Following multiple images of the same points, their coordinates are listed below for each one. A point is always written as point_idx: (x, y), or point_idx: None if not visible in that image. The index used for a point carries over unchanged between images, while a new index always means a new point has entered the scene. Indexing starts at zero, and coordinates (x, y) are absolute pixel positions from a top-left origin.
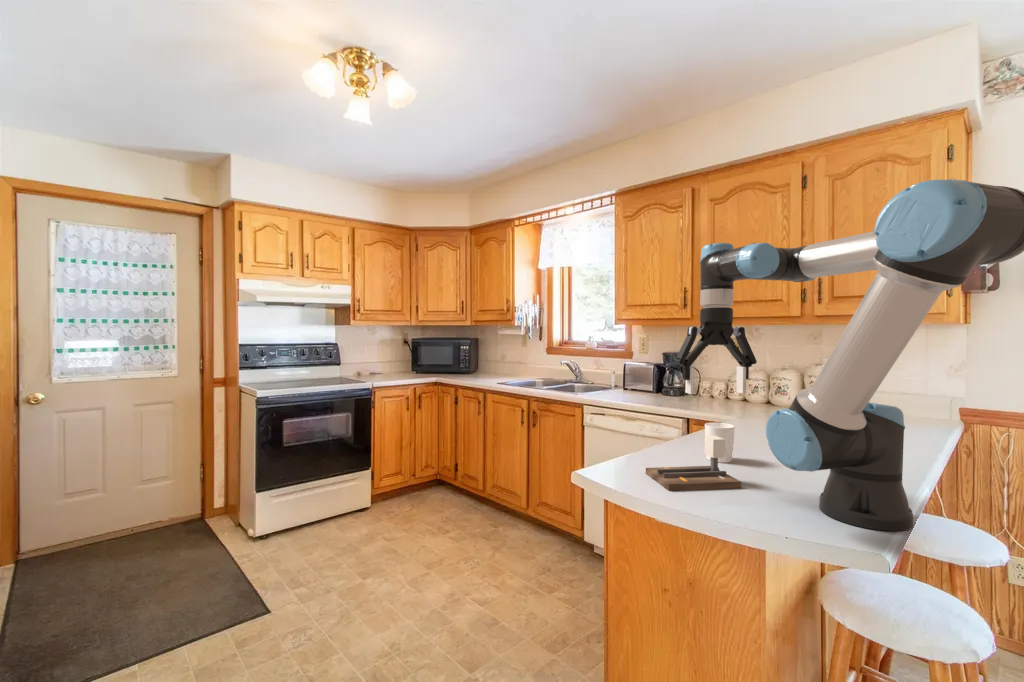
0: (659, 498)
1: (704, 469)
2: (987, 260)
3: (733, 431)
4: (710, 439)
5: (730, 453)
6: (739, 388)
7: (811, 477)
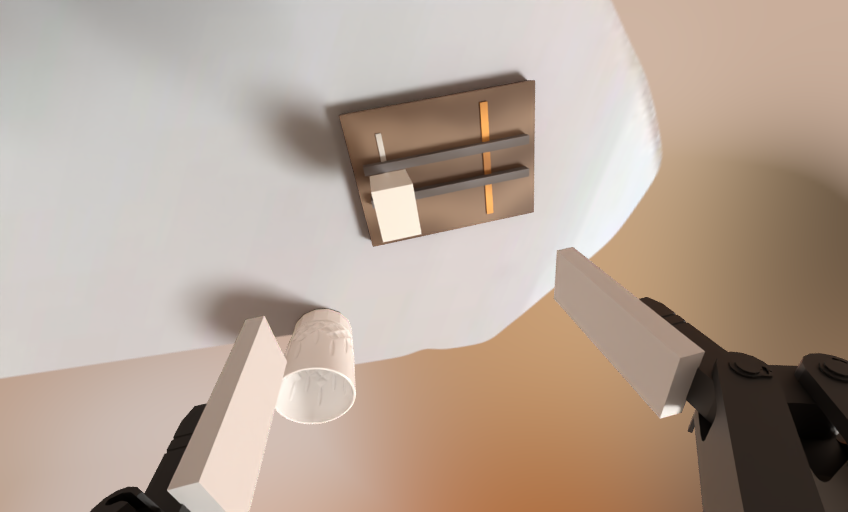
0: (572, 16)
1: None
2: None
3: None
4: (415, 200)
5: (298, 329)
6: (270, 359)
7: (114, 222)
